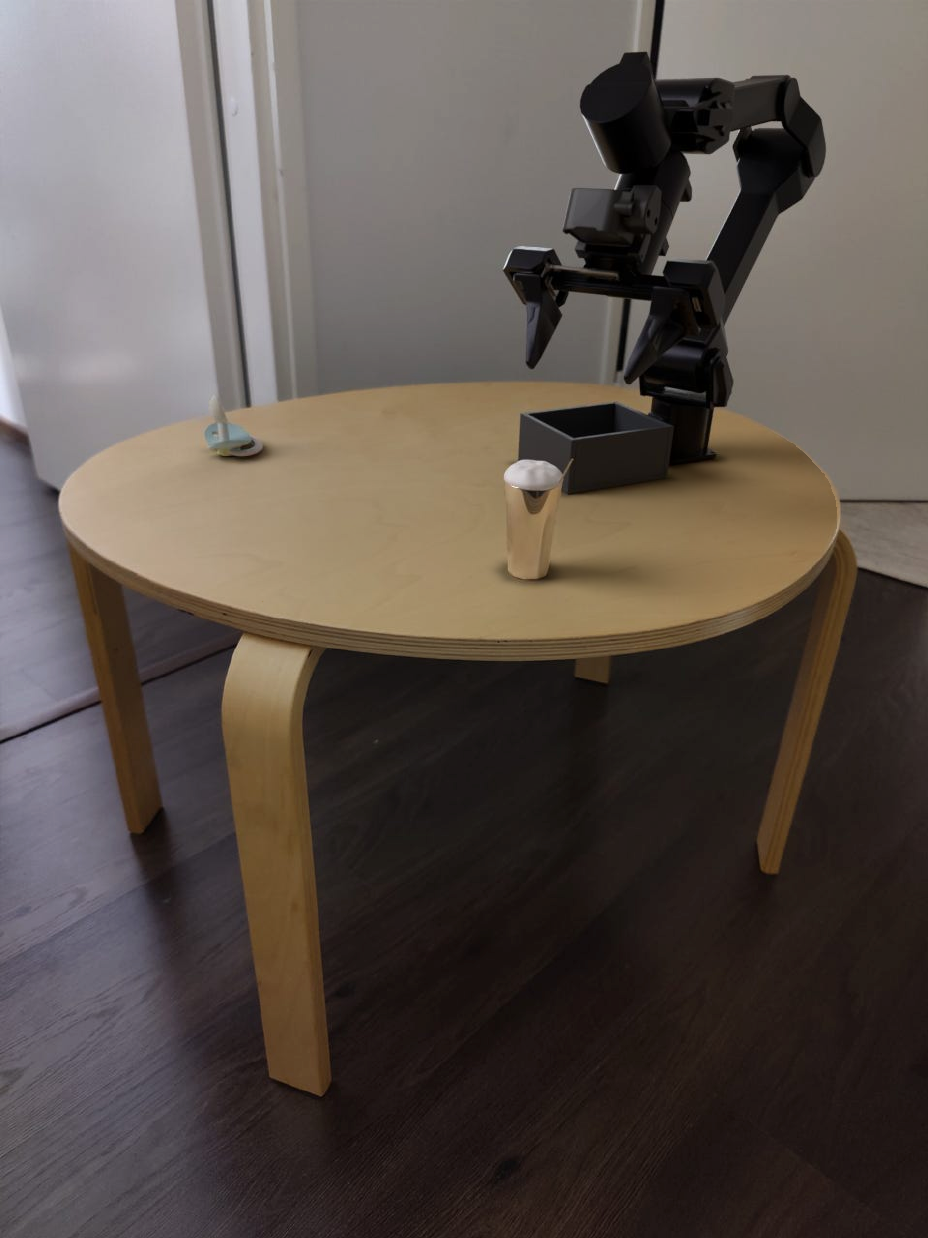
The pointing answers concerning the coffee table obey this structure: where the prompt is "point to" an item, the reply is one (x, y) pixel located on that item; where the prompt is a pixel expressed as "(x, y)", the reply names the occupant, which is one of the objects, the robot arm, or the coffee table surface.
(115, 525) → the coffee table surface
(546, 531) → the milkshake
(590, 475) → the bin
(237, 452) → the pacifier
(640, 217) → the robot arm
